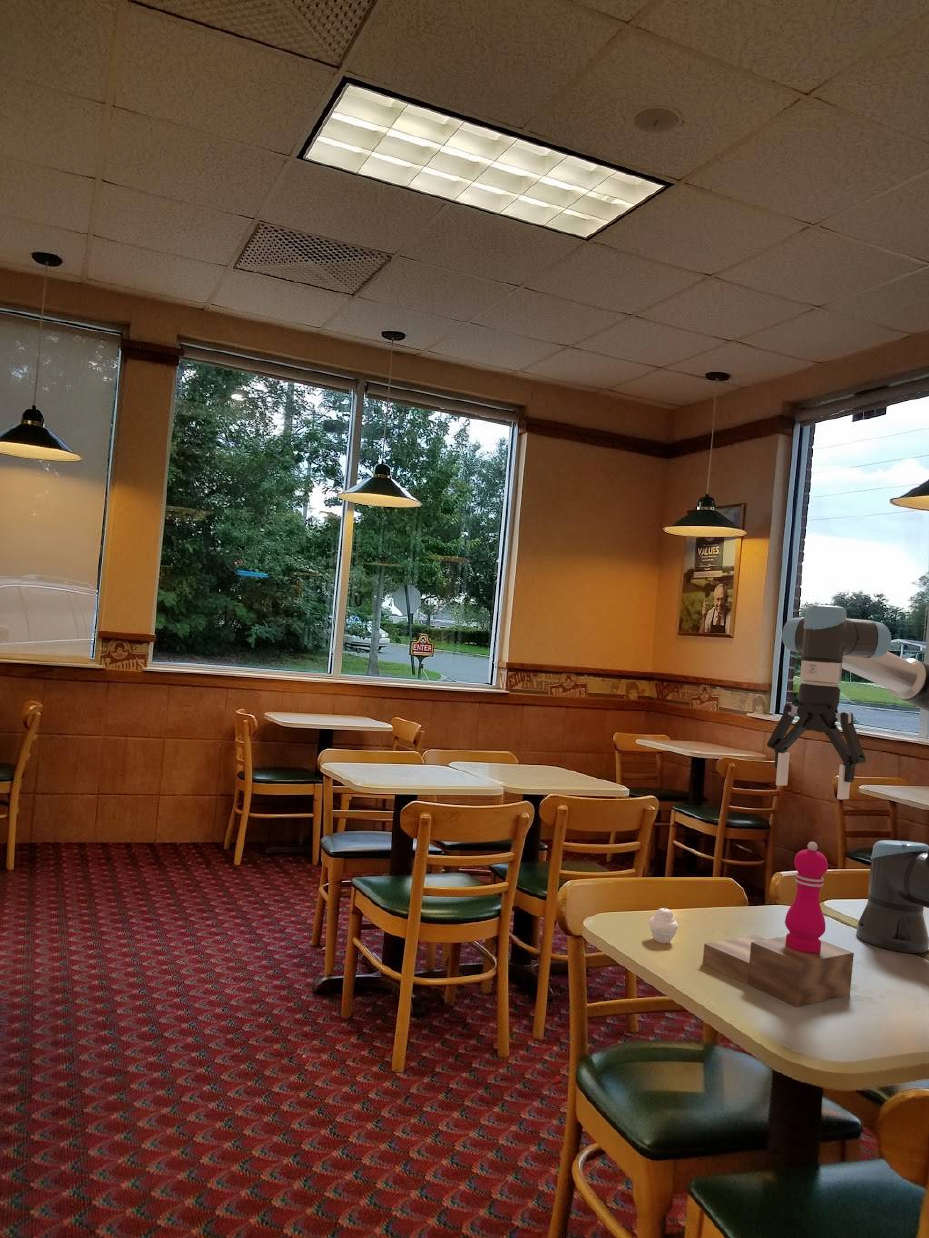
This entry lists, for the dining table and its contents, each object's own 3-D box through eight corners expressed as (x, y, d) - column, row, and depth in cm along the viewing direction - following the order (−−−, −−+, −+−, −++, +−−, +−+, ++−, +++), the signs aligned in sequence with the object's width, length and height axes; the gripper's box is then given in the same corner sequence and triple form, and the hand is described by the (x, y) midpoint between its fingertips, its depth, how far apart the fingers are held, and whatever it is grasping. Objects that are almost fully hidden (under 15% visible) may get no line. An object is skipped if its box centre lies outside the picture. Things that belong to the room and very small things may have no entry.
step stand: (754, 954, 192) (758, 916, 192) (849, 995, 173) (853, 952, 173) (702, 963, 183) (706, 923, 183) (796, 1007, 164) (801, 962, 164)
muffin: (682, 944, 193) (686, 911, 194) (661, 947, 190) (664, 913, 190) (662, 934, 199) (665, 902, 199) (641, 937, 196) (644, 904, 196)
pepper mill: (826, 956, 169) (836, 848, 170) (785, 950, 171) (795, 842, 171) (819, 944, 176) (829, 840, 177) (780, 938, 178) (790, 835, 178)
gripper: (754, 677, 188) (746, 780, 188) (868, 690, 168) (859, 805, 168) (777, 678, 193) (769, 779, 192) (891, 691, 172) (881, 804, 172)
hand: (811, 791), depth 180 cm, fingers open, 13 cm apart
